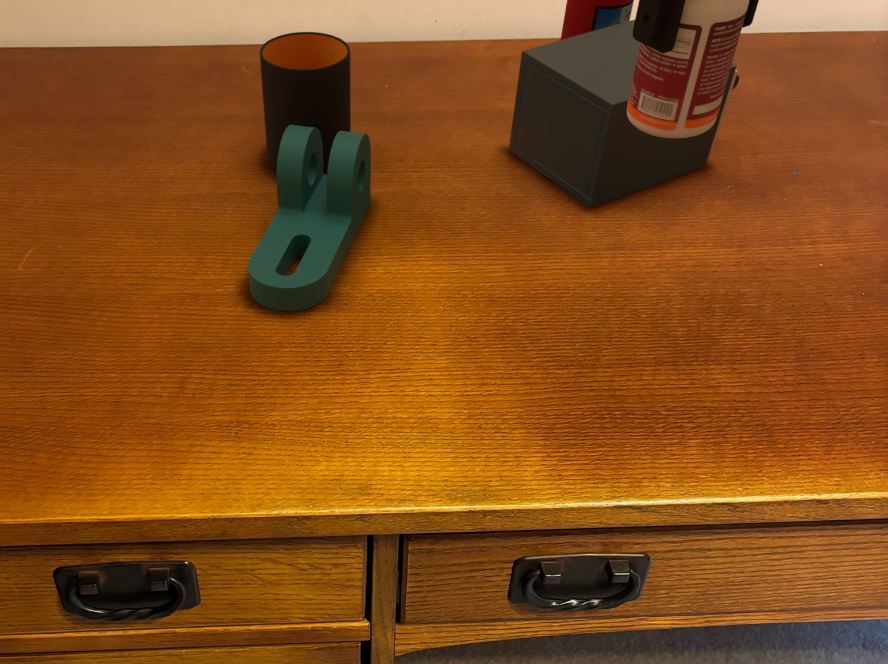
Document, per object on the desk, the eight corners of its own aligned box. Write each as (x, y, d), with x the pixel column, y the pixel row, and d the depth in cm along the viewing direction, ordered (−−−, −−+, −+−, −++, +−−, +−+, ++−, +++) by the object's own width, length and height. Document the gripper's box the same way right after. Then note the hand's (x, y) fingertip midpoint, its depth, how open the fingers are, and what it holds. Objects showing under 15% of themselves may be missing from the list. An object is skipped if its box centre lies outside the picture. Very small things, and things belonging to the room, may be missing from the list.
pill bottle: (702, 99, 66) (750, -76, 58) (724, 141, 62) (780, -41, 54) (616, 101, 66) (652, -74, 58) (633, 142, 63) (674, -39, 54)
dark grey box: (619, 115, 97) (641, 17, 89) (705, 167, 90) (737, 65, 82) (508, 150, 92) (521, 50, 84) (590, 208, 85) (612, 104, 78)
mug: (322, 117, 97) (319, 11, 89) (362, 171, 89) (363, 61, 81) (247, 131, 95) (237, 24, 87) (282, 187, 88) (274, 76, 80)
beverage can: (601, 102, 98) (627, -21, 89) (543, 88, 101) (563, -34, 91) (624, 78, 102) (651, -43, 93) (567, 65, 104) (588, -55, 95)
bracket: (301, 193, 87) (297, 111, 81) (370, 203, 86) (371, 119, 80) (239, 304, 76) (229, 218, 70) (317, 316, 75) (313, 230, 69)
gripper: (719, -317, 41) (631, 87, 55) (963, -355, 47) (827, 21, 61) (607, -337, 45) (551, 44, 59) (843, -370, 51) (742, -15, 65)
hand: (692, 29), depth 60 cm, fingers closed on pill bottle, 6 cm apart
